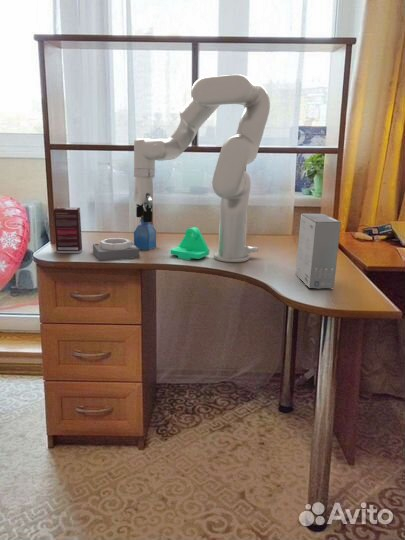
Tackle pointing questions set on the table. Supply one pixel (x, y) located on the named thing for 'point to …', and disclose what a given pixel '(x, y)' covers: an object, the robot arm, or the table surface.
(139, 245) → the perfume bottle
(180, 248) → the camera mount
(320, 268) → the hard drive box
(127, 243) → the camera body block
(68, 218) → the supplement box
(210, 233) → the table surface
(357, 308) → the table surface
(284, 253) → the table surface
